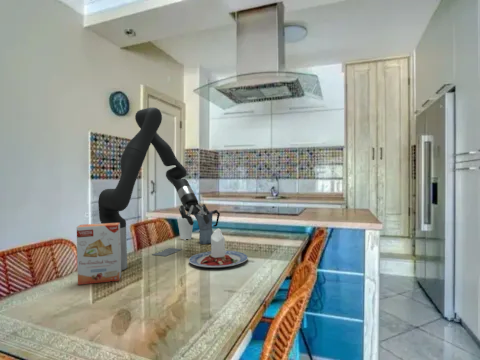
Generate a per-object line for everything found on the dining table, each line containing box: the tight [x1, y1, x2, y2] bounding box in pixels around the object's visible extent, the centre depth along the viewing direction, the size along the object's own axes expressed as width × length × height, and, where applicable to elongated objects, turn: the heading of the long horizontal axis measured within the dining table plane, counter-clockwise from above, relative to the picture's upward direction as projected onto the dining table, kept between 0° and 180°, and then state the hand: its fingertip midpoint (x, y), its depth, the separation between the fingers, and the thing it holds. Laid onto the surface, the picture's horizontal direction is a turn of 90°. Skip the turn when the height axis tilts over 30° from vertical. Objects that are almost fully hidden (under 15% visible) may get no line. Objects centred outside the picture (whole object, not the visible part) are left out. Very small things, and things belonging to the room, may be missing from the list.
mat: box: [151, 247, 183, 257], centre depth 152 cm, size 14×8×1 cm, turn 157°
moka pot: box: [193, 209, 221, 245], centre depth 172 cm, size 10×15×20 cm, turn 115°
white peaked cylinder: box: [210, 228, 226, 258], centre depth 133 cm, size 6×12×6 cm
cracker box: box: [76, 223, 122, 286], centre depth 111 cm, size 14×6×21 cm, turn 105°
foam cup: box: [177, 216, 194, 241], centre depth 183 cm, size 10×9×13 cm
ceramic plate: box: [188, 250, 249, 269], centre depth 133 cm, size 26×26×3 cm
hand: (200, 223), depth 141 cm, fingers open, 8 cm apart
